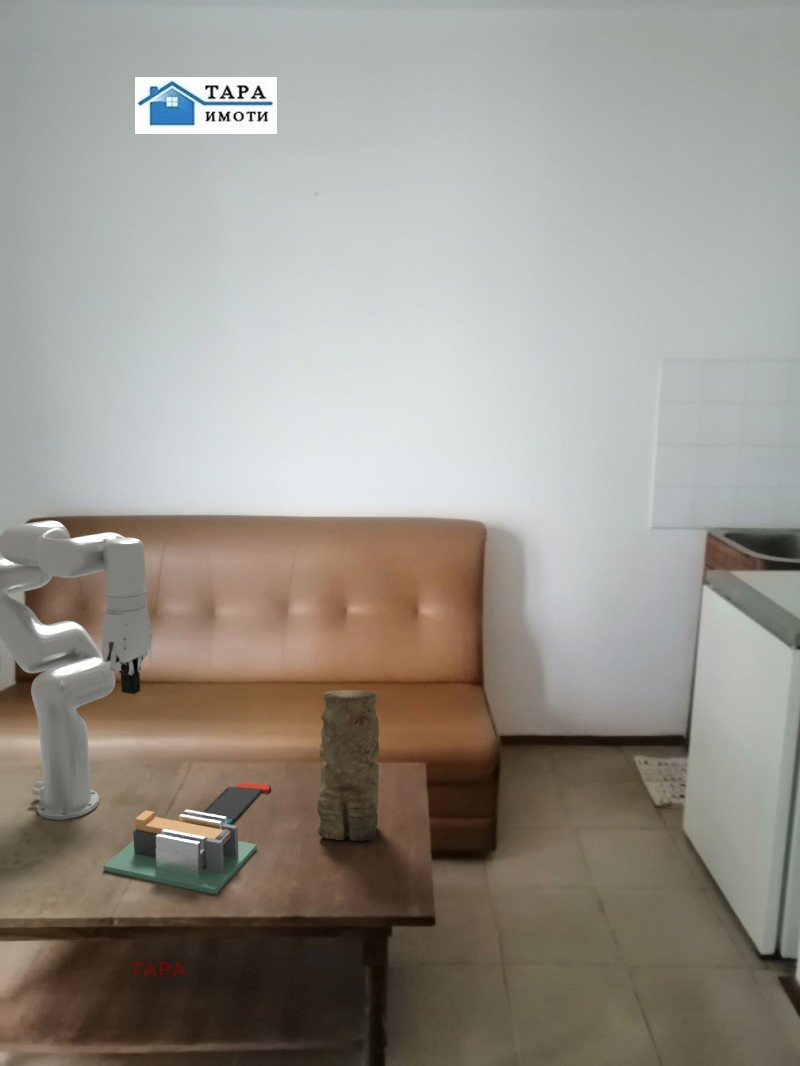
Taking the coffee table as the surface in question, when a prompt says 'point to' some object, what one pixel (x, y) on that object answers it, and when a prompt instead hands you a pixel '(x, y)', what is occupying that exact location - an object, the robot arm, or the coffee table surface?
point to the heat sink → (186, 845)
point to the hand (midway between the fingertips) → (131, 691)
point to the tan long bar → (177, 827)
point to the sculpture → (349, 766)
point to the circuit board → (220, 869)
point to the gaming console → (236, 800)
